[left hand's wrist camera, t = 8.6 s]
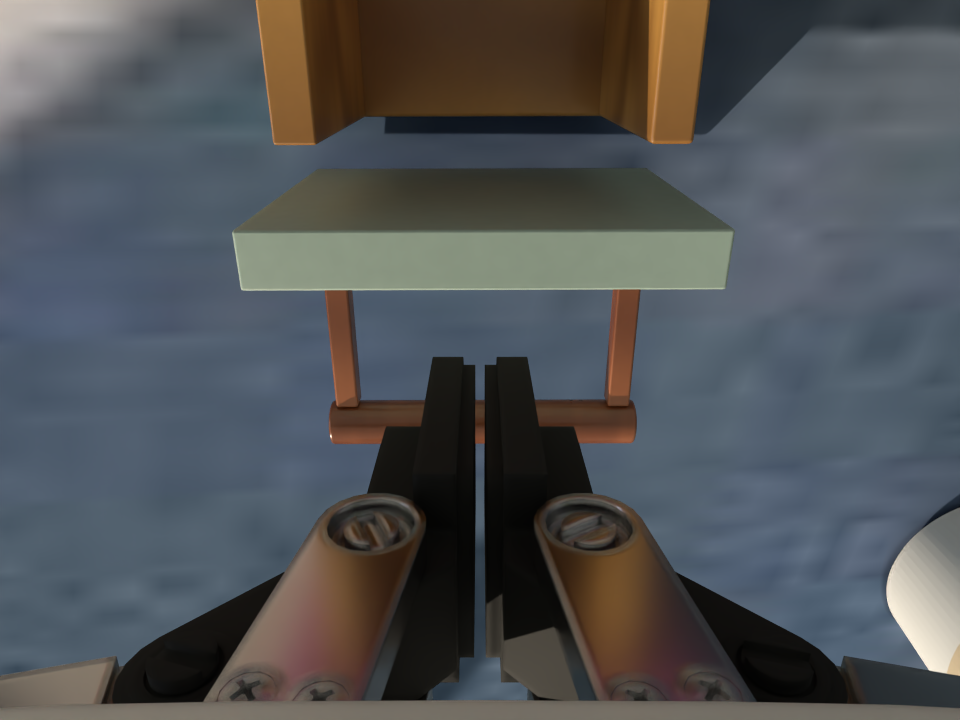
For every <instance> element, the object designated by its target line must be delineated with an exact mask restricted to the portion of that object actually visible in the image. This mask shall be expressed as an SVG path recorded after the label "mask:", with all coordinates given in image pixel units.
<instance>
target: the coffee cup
mask: <svg viewBox="0 0 960 720" xmlns="http://www.w3.org/2000/svg"><path fill="white" fill-rule="evenodd" d="M887 601H888V605H889V608H890V610H891V612H892V614H893V616H894V618H895V619H896V621H897V622H898V624H899V625H900V627H901V628H902V630H903V631H904V633H905V634H906V636H907V637H908V639H909V640H910V642H911V643H912V645H913V646H914V648H915V649H916V651H917V652H918V654H919V655H920V657H921V658H922V660H923V661H924V663H925V664H926V666H927V668H928V669H929V671H935V672H941V673H946V674H952V675H958V676H960V508H957V509H955V510H953V511H950V512H949V513H947V514H945V515H943V516H941V517H939V518H937V519H936V520H934V521H933V522H931V523H930V524H928V525H927V526H926V527H924V528H923V529H922V530H921V531H919V532H918V533H917V534H916V535H915V536H914V537H913V538H912V539H911V540H910V541H909V542H908V543H907V544H906V546H905V547H904V548H903V549H902V551H901V552H900V554H899V555H898V557H897V558H896V560H895V562H894V564H893V566H892V568H891V571H890V574H889V577H888V582H887Z"/></svg>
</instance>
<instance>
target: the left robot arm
mask: <svg viewBox="0 0 960 720" xmlns="http://www.w3.org/2000/svg"><path fill="white" fill-rule="evenodd" d="M475 514H476V480H475V365H464V363H463V357H433V359H432V365H431V370H430V376H429V382H428V387H427V393H426V399H425V405H424V410H423V416H422V422H421V426H386V428H385V431H384V435H383V438H382V442H381V445H380V449H379V453H378V456H377V460H376V463H375V467H374V471H373V474H372V478H371V481H370V485H369V488H368V492H367V494H363V495H358V496H353V497H350V498H348V499H345V500H342V501H339V502H338V503H336V504H335V505H333V506H331V507H330V508H328V509H327V510H326V511H325V512H324V513H323V514H322V515H321V516H320V517H319V519H318V520H317V522H316V523H315V525H314V526H313V528H312V530H311V531H310V533H309V534H308V536H307V537H306V539H305V541H304V542H303V544H302V545H301V547H300V549H299V550H298V552H297V553H296V555H295V557H294V558H293V560H292V561H291V563H290V564H289V566H288V568H287V569H286V571H285V572H283V573H282V574H280V575H278V576H276V577H274V578H272V579H270V580H268V581H266V582H264V583H262V584H260V585H259V586H257V587H255V588H253V589H251V590H249V591H247V592H245V593H243V594H241V595H239V596H238V597H236V598H234V599H232V600H230V601H228V602H226V603H224V604H222V605H220V606H218V607H217V608H215V609H213V610H211V611H209V612H207V613H205V614H203V615H201V616H199V617H197V618H196V619H194V620H192V621H190V622H188V623H186V624H184V625H182V626H180V627H178V628H176V629H174V630H173V631H171V632H169V633H167V634H165V635H163V636H161V637H159V638H158V639H156V640H155V641H153V642H151V643H150V644H148V645H147V646H145V647H144V648H142V649H141V650H140V651H139V652H138V653H137V654H136V655H135V656H133V657H132V658H131V659H130V660H129V661H128V662H127V663H126V664H125V666H120V667H119V664H118V661H117V657H116V656H112V657H107V658H101V659H95V660H89V661H83V662H77V663H72V664H66V665H60V666H54V667H48V668H43V669H37V670H31V671H25V672H19V673H14V674H8V675H2V676H0V720H960V676H958V675H952V674H946V673H941V672H935V671H929V670H923V669H917V668H912V667H906V666H900V665H894V664H888V663H883V662H877V661H871V660H865V659H859V658H853V657H848V656H844V657H843V661H842V664H841V667H840V666H835V664H834V663H833V662H832V661H831V660H830V659H829V658H828V657H827V656H825V655H824V654H823V653H822V652H821V651H820V650H819V649H818V648H816V647H815V646H813V645H812V644H810V643H809V642H807V641H805V640H804V639H802V638H801V637H799V636H797V635H795V634H793V633H791V632H789V631H787V630H786V629H784V628H782V627H780V626H778V625H776V624H774V623H772V622H770V621H768V620H766V619H764V618H763V617H761V616H759V615H757V614H755V613H753V612H751V611H749V610H747V609H745V608H743V607H742V606H740V605H738V604H736V603H734V602H732V601H730V600H728V599H726V598H724V597H722V596H721V595H719V594H717V593H715V592H713V591H711V590H709V589H707V588H705V587H703V586H701V585H700V584H698V583H696V582H694V581H692V580H690V579H688V578H686V577H684V576H682V575H680V574H678V573H677V572H675V571H674V569H673V568H672V566H671V564H670V563H669V561H668V560H667V558H666V557H665V555H664V553H663V552H662V550H661V549H660V547H659V545H658V544H657V542H656V541H655V539H654V537H653V536H652V534H651V533H650V531H649V530H648V528H647V526H646V525H645V523H644V522H643V520H642V519H641V517H640V516H639V515H638V514H637V513H636V512H635V511H634V510H633V509H632V508H630V507H629V506H627V505H625V504H624V503H622V502H621V501H618V500H615V499H612V498H610V497H607V496H602V495H597V494H593V492H592V488H591V485H590V481H589V478H588V474H587V471H586V467H585V463H584V460H583V456H582V453H581V449H580V445H579V442H578V438H577V435H576V431H575V428H574V426H539V422H538V416H537V410H536V405H535V399H534V393H533V387H532V382H531V376H530V370H529V365H528V359H527V357H497V363H496V365H485V479H484V514H485V610H486V657H500V663H501V682H520V683H521V684H522V685H524V686H525V687H526V688H528V694H527V701H516V700H444V701H433V694H432V688H434V687H435V686H436V685H438V684H439V683H440V682H459V663H460V657H474V609H475Z"/></svg>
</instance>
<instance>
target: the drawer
mask: <svg viewBox="0 0 960 720" xmlns="http://www.w3.org/2000/svg"><path fill="white" fill-rule="evenodd" d="M256 6H257V14H258V22H259V30H260V38H261V46H262V55H263V63H264V71H265V79H266V87H267V95H268V103H269V111H270V119H271V127H272V135H273V142H274V144H275V145H315V144H317V143H319V142H321V141H323V140H324V139H326V138H328V137H330V136H331V135H333V134H335V133H337V132H338V131H340V130H342V129H344V128H345V127H347V126H349V125H351V124H353V123H354V122H356V121H358V120H360V119H361V118H363V117H418V116H601V117H603V118H605V119H607V120H609V121H611V122H613V123H615V124H617V125H619V126H620V127H622V128H624V129H626V130H628V131H630V132H632V133H634V134H636V135H638V136H639V137H641V138H643V139H645V140H647V141H649V142H651V143H653V144H689V143H691V142H692V141H693V138H694V130H695V122H696V114H697V106H698V97H699V89H700V81H701V73H702V65H703V57H704V48H705V40H706V32H707V24H708V16H709V8H710V0H256ZM734 233H735V231H734V229H733V228H731V227H730V226H729V225H727V224H726V223H724V222H723V221H721V220H720V219H718V218H717V217H716V216H714V215H713V214H711V213H710V212H708V211H707V210H706V209H704V208H703V207H701V206H700V205H698V204H697V203H695V202H694V201H693V200H691V199H690V198H688V197H687V196H685V195H684V194H683V193H681V192H680V191H678V190H677V189H675V188H674V187H672V186H671V185H670V184H668V183H667V182H665V181H664V180H662V179H661V178H660V177H658V176H657V175H655V174H654V173H652V172H651V171H649V170H648V169H646V168H519V169H317V170H316V171H314V172H313V173H312V174H310V175H309V176H308V177H306V178H305V179H303V180H302V181H301V182H299V183H298V184H297V185H295V186H294V187H292V188H291V189H290V190H288V191H287V192H286V193H284V194H283V195H281V196H280V197H279V198H277V199H276V200H275V201H273V202H272V203H270V204H269V205H268V206H266V207H265V208H264V209H262V210H261V211H259V212H258V213H257V214H255V215H254V216H253V217H251V218H250V219H248V220H247V221H246V222H244V223H243V224H242V225H240V226H239V227H238V228H236V229H235V230H233V240H234V246H235V253H236V259H237V265H238V272H239V278H240V285H241V289H242V290H325V298H326V308H327V317H328V327H329V337H330V347H331V356H332V366H333V376H334V386H335V396H336V400H335V401H333V403H332V405H331V408H330V413H329V433H330V438H331V441H332V443H334V444H381V442H382V438H383V435H384V431H385V428H386V426H421V422H422V416H423V410H424V405H425V400H360V399H361V389H360V377H359V366H358V354H357V342H356V330H355V318H354V307H353V295H352V290H567V289H613V297H612V309H611V321H610V333H609V345H608V357H607V369H606V381H605V393H604V397H605V399H606V400H535V405H536V410H537V416H538V422H539V426H574V428H575V431H576V435H577V438H578V442H579V443H632V442H633V441H634V439H635V436H636V429H637V417H636V409H635V405H634V403H633V401H632V400H630V389H631V379H632V369H633V360H634V350H635V340H636V330H637V320H638V310H639V300H640V290H641V289H725V288H726V284H727V278H728V272H729V265H730V259H731V252H732V246H733V239H734ZM475 444H485V400H475Z"/></svg>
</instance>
